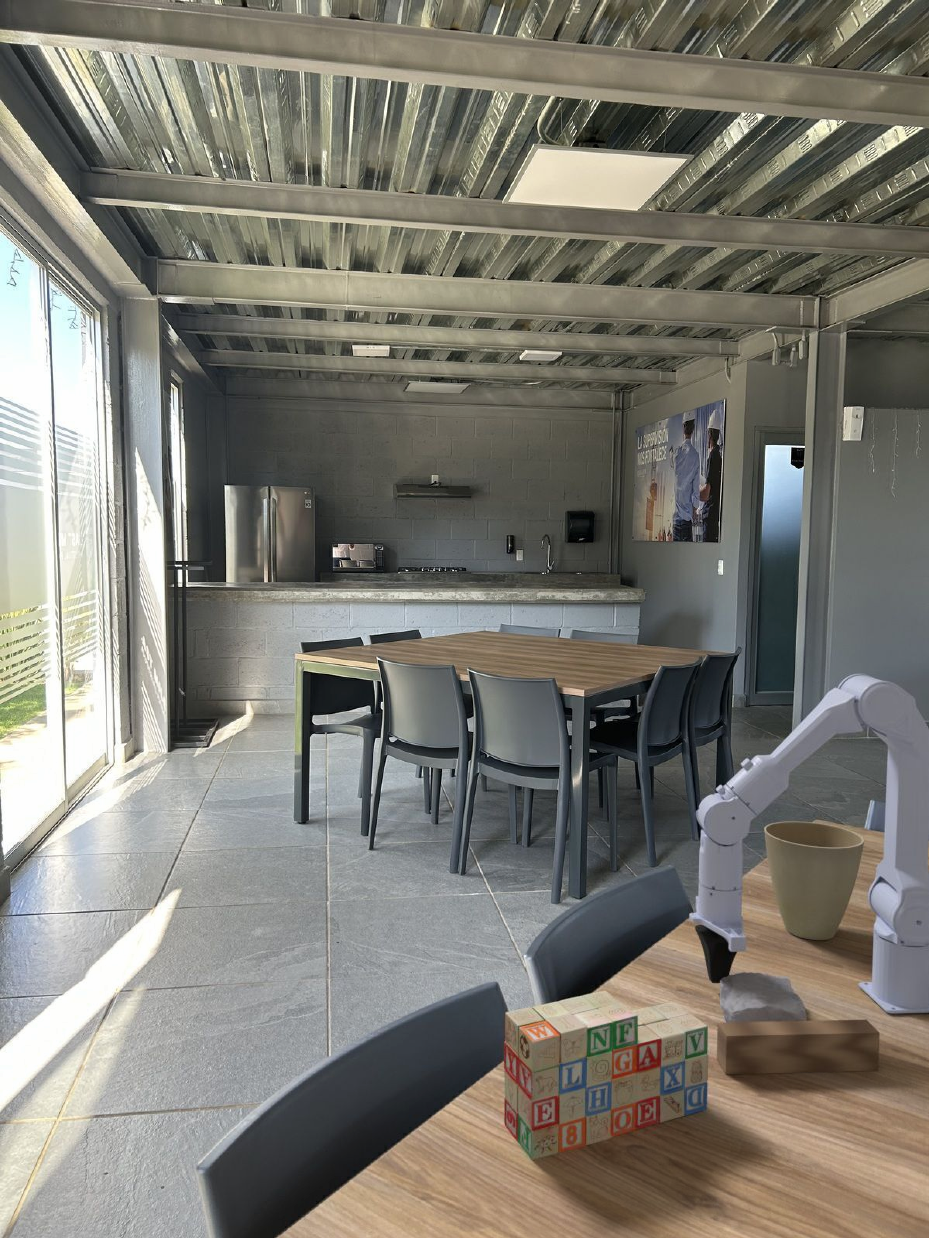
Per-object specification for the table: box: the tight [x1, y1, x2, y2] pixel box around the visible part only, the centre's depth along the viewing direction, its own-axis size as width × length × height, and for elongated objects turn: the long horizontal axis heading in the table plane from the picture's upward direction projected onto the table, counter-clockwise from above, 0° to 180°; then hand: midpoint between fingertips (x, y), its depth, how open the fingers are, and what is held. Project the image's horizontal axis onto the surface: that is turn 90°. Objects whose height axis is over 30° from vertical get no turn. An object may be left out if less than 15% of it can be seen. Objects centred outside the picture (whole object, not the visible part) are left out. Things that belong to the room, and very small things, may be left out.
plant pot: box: [763, 820, 865, 941], centre depth 142 cm, size 15×15×16 cm
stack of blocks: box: [503, 990, 709, 1161], centre depth 93 cm, size 21×6×12 cm, turn 113°
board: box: [716, 1019, 881, 1075], centre depth 103 cm, size 18×3×4 cm, turn 93°
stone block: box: [719, 971, 808, 1022], centre depth 115 cm, size 12×5×10 cm
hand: (717, 981), depth 121 cm, fingers closed
